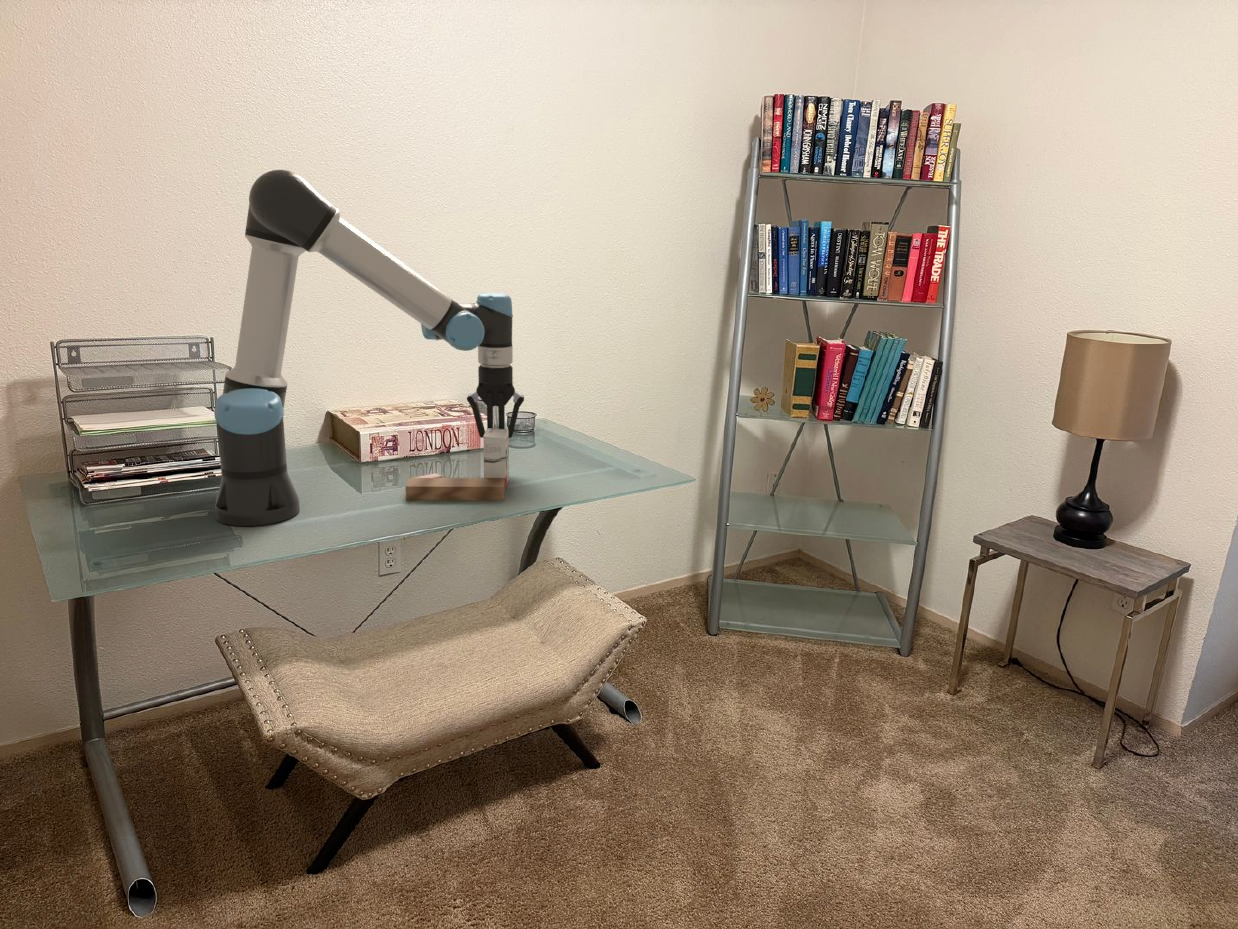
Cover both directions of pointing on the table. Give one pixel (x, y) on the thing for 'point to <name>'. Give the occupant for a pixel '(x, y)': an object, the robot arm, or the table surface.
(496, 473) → the ink box
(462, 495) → the wooden block
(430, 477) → the eraser
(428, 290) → the robot arm
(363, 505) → the table surface
